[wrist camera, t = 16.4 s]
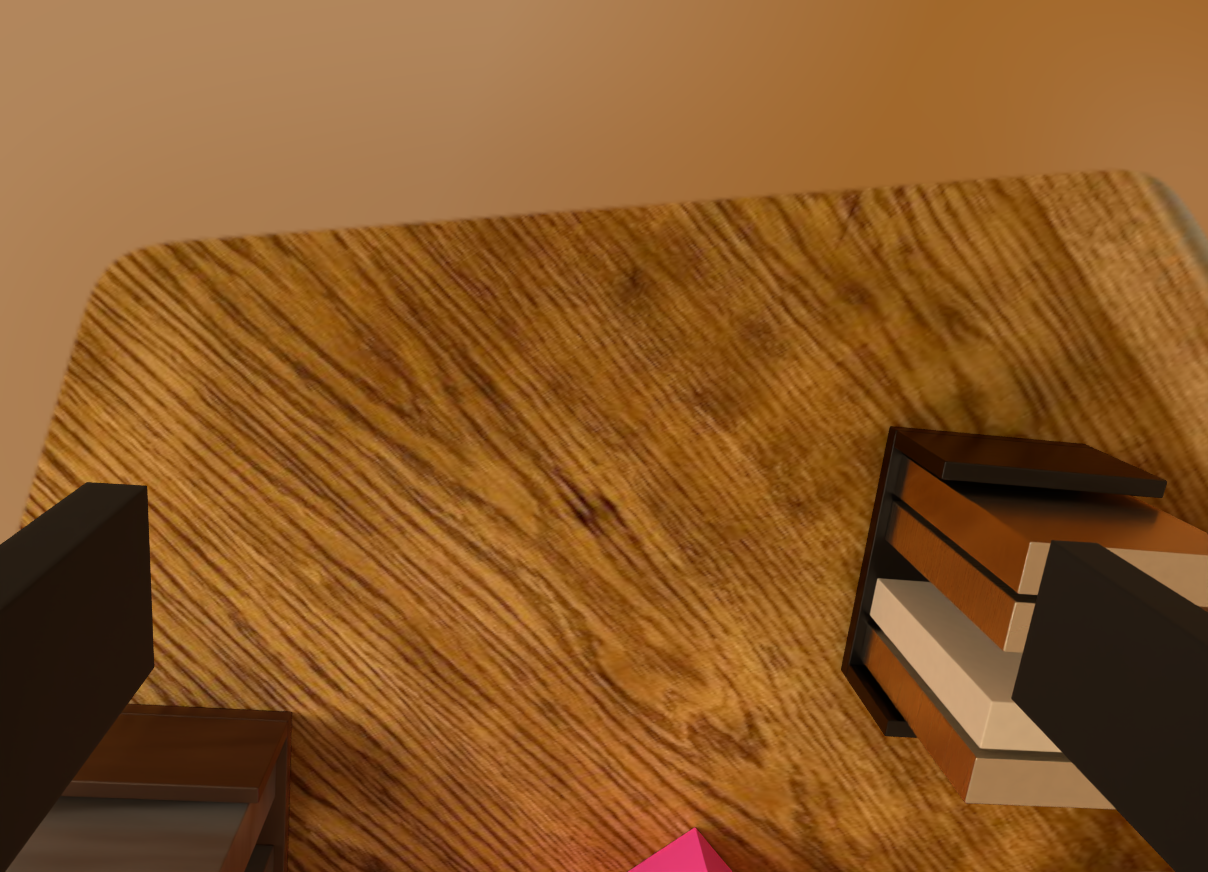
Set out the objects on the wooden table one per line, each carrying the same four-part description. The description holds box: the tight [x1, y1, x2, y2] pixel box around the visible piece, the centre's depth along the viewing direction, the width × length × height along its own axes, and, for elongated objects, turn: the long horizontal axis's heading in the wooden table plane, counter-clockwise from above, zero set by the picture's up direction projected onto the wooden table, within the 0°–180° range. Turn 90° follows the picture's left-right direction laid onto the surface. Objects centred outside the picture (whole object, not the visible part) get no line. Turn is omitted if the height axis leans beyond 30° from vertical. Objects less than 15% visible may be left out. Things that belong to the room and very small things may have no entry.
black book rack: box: [841, 426, 1208, 809], centre depth 39 cm, size 13×10×12 cm
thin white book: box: [870, 578, 1061, 752], centre depth 39 cm, size 2×9×11 cm, turn 83°
